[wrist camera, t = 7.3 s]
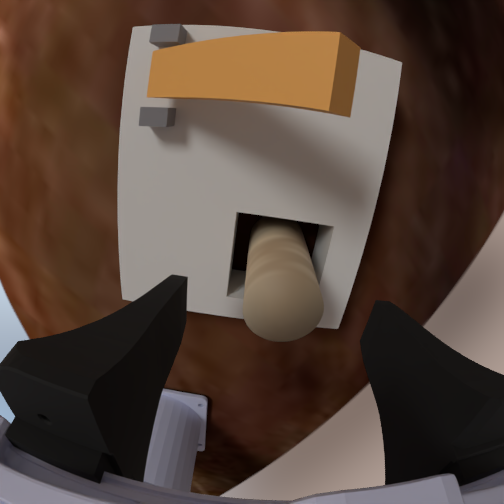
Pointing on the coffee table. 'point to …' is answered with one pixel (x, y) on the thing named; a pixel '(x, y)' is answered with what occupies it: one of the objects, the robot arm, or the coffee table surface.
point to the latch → (261, 70)
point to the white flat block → (244, 177)
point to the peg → (280, 282)
